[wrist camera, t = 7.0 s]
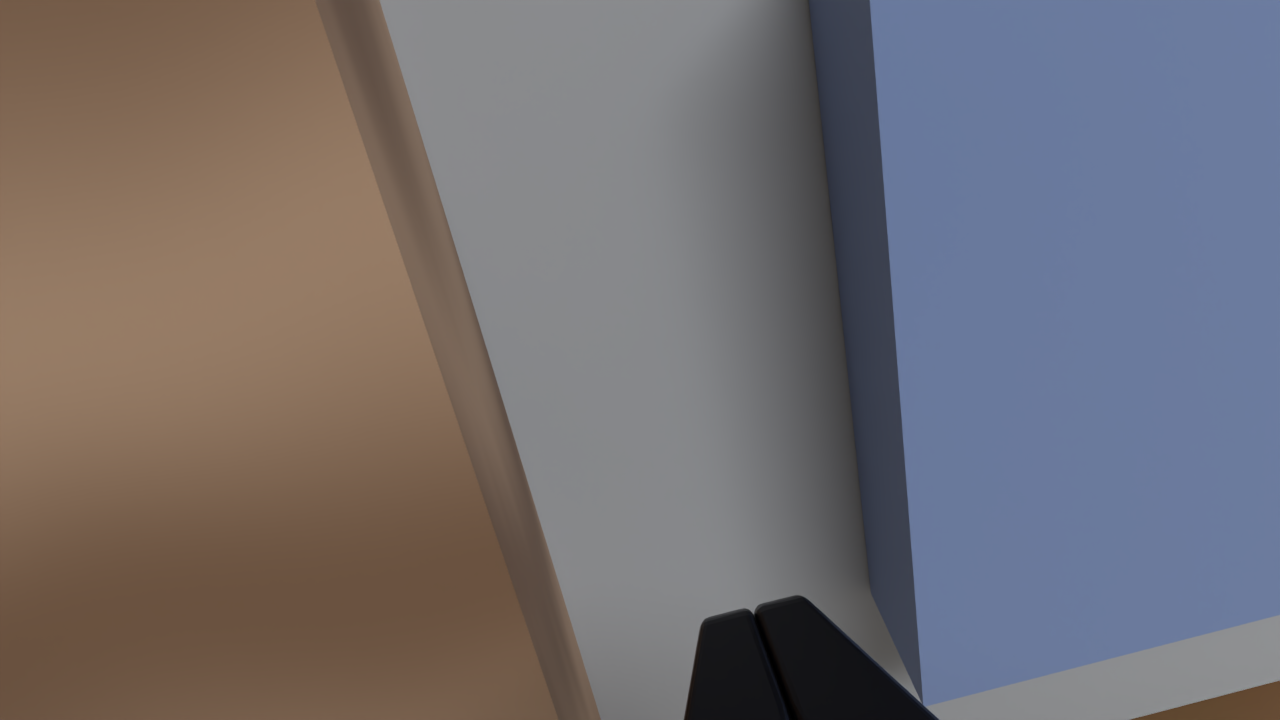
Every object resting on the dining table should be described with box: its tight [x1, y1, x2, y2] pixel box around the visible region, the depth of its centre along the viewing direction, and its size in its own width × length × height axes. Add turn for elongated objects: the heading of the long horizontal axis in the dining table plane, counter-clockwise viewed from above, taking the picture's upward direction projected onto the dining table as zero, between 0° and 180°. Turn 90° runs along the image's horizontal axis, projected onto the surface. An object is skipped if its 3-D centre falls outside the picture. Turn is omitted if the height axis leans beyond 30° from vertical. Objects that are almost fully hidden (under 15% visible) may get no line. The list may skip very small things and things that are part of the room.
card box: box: [809, 0, 1280, 707], centre depth 13 cm, size 9×6×2 cm, turn 11°
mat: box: [379, 0, 1280, 720], centre depth 14 cm, size 18×14×1 cm
